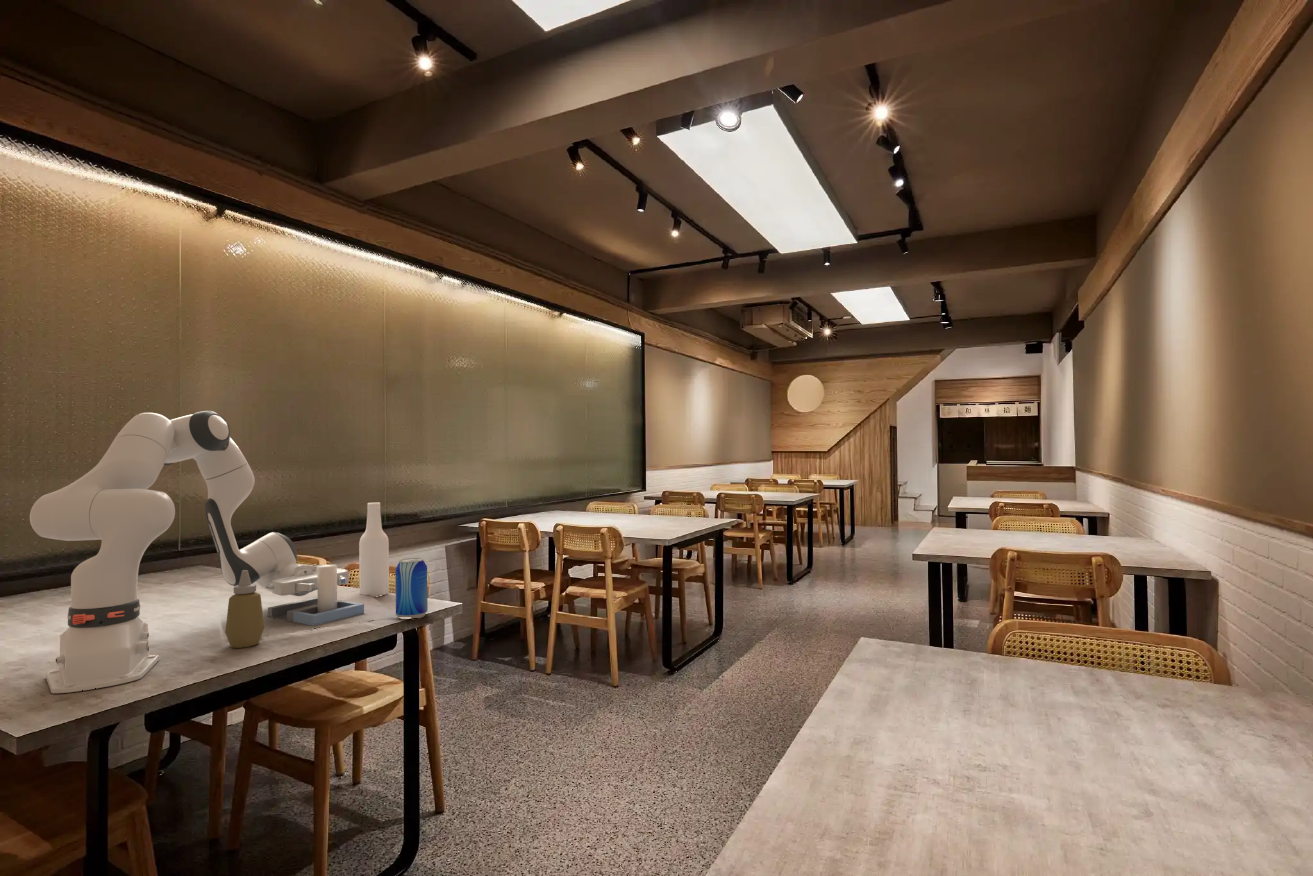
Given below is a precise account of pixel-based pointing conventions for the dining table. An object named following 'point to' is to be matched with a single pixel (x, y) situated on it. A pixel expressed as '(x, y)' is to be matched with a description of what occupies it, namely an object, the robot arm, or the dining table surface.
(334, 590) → the plug post
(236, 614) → the squeeze bottle
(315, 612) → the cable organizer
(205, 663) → the dining table surface
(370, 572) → the alcohol
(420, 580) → the beer can
